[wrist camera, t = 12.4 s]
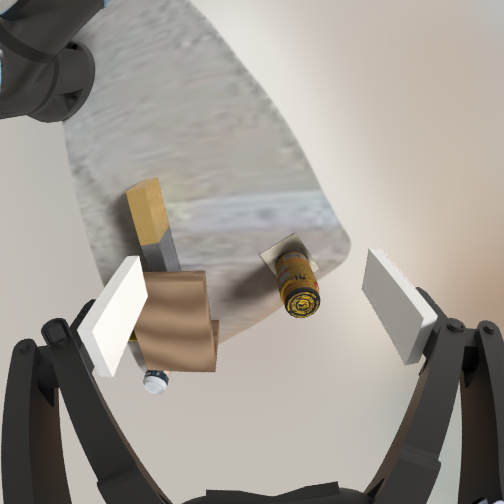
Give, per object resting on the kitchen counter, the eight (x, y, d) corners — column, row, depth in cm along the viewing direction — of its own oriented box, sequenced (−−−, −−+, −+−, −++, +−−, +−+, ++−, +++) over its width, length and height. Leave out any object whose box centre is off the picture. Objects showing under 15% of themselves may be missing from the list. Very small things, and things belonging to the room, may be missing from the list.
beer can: (167, 335, 59) (155, 377, 48) (180, 350, 61) (171, 392, 50) (150, 341, 60) (137, 382, 49) (163, 356, 62) (152, 397, 51)
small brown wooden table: (144, 245, 50) (120, 282, 39) (211, 243, 50) (202, 281, 39) (162, 325, 58) (147, 369, 46) (219, 325, 58) (215, 372, 47)
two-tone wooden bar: (141, 181, 45) (125, 191, 39) (157, 177, 45) (144, 187, 38) (179, 315, 57) (173, 338, 50) (194, 313, 56) (189, 337, 50)
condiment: (284, 288, 54) (294, 330, 44) (259, 254, 51) (263, 292, 40) (318, 268, 53) (336, 306, 42) (295, 232, 50) (309, 265, 39)
